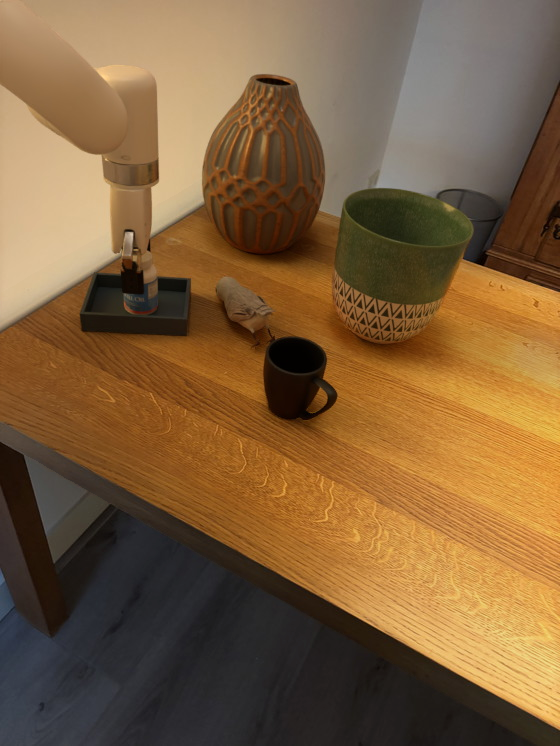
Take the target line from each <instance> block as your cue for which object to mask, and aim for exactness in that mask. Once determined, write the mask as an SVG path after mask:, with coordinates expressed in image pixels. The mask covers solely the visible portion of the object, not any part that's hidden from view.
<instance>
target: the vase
mask: <svg viewBox="0 0 560 746" xmlns="http://www.w3.org/2000/svg"><path fill="white" fill-rule="evenodd" d="M300 95H301V94H300V90H299V87H298V83H297V82H296V80H294V79H292V78H289V77H286V76H284V75H278V74H272V73H271V74H270V73H258V74H254V75H252V76H250V78H249V79H248V81H247V84H246V85H245V88H244V90H243V92H242V93H241V95H240V97H239V98H237V101H236V102H235V103H234V104H233V105H232V106H231V107H230V108H229V110H228V111H227V112H226V113H225V114H224V116H223V117H222V118H221V120H220V121H219V122H218V123H217V125H216V126H215V128H214V129H213V132H212V133H211V136H210V137H209V141H208V142H207V146H206V149H205V153H204V157H203V162H202V171H201V189H202V190H201V191H202V197H203V203H204V206H205V210H206V213H207V216H208V218H209V221H210V224H212V225H213V227H214V229H215V230H216V232H217V233H218V234H219V235H220V236H221V237H222V238H223V239H224V240H225V241H226V242H227V243H228V244H229V245H231V246H232V247H234V248H236V249H238V250H240V251H243V252H247V253H251V254H257V255H271V254H276V253H277V254H278V253H280V252H283V251H285V250H287V249H289V248H290V247H292V246H293V245H295V244H297V242H299V241H300V240H301V239H302V238H303V237H304V236H305V235H307V233H308V232H309V230H310V228H311V227H312V225H313V224H314V221H315V220H316V218H317V216H318V213H319V210H320V208H321V205H322V200H323V197H324V193H325V186H326V162H325V154H324V150H323V145H322V142H321V140H320V137H319V135H318V133H317V130H316V129H315V127H314V125H313V123H312V120H311V118H310V117H309V115H308V113H307V111H306V109H305V107H304V104H303V101H302V98H301V96H300Z"/></svg>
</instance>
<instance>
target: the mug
mask: <svg viewBox="0 0 560 746" xmlns="http://www.w3.org/2000/svg"><path fill="white" fill-rule="evenodd" d="M266 346H267V347H266V349H265V352H264V358H263V359H264V360H263V367H262V380H263V389H264V394H265V398H266V402H267V407H268V410H269V411H270V412H271V414H273V416H275V417H277V418H278V419H281V420H284V421H285V420H286V421H295V420H298V419H301V420H302V421H303V422H307V421H310V420H313V419H315V418H317V417H318V416H320V415H322V414H324V413H326V412H328V411H329V410H330V409H331V408H333V407H334V405H335V404H336V402H337V400H338V392H337V390H336V389H335V387H334V386H333V385H332V384H331V383H330V382H328V381H327V380H326V379H324V377H325V372H326V368H327V363H328V356H327V353H326V352H325V349H323V348H322V346H320V344H318V343H317V342H315V341H313V340H311V339H308V338H306V337H303V336H302V337H301V336H297V335H296V336H295V335H288V336H281V337H278V338H275V340H273V341H272V342H271V343H270V342H269V344H268V345H266ZM320 389H321V390H322V391H323V392H324V393H325V394H326V397H327V399H326V402H325V404H324V405H323V406H322V407H321V408H319V409H318V410H316V411H314V412H310V411H308V409H309V408H310V406H311V404H312V403H313V402H314V400H315V398H316V397H317V395H318V394H319V391H320Z"/></svg>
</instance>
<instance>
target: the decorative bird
mask: <svg viewBox="0 0 560 746" xmlns="http://www.w3.org/2000/svg"><path fill="white" fill-rule="evenodd" d="M215 293H216V298H217V299H218V300H219V301H223V302H224V308H225V310H226V313H227V317H228V318H229V320H230V321H231V322H235V323H238V324H239V325H240V326H242V327H243V328H245V329H247V330H248V331H249V332H251V334H252V337H253V339H254V341H255V344H253V345H252V346H251V347H250V350H252V349H253V348H254V349H255V350H256V349H257V347H262V343H261V339H257V337H256V333H255V332H257V331H260V330H261V329H263V328H266V329H267V332H268V335H269V337H270V339H269V340H267V341H266V342H265V345H267V344H268V343H269V344H270V343H271V342H272V341H273V340H275V339H276V334H274V335H272V333H271V329H270V325H269V319H270V317H269V316H274V314H273V313H276V312H277V311H276V310H274V309H273V308H271V307H270V306H269V305H268V304H267V302H266V301H265V299H264V298H263V297H262V296H260V295H257V294H256V293H255V292H254V291H252V290H251V289H249V288H247V287H244V286H243V285H242V284H240V283H239V281H238V280H237V279H236V278H234V277H232V276H226V275H225V276H222V277H221V278H219V280H217V282H216V285H215Z"/></svg>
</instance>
